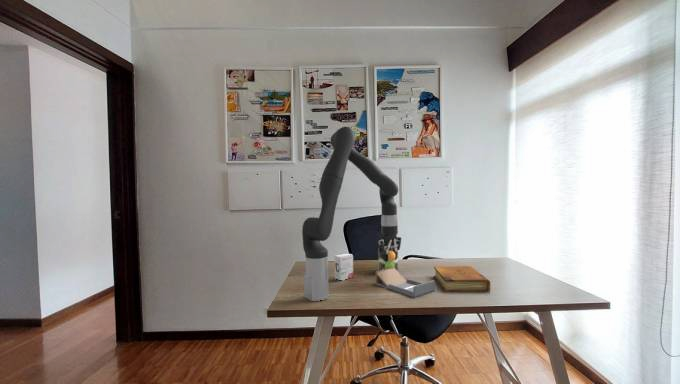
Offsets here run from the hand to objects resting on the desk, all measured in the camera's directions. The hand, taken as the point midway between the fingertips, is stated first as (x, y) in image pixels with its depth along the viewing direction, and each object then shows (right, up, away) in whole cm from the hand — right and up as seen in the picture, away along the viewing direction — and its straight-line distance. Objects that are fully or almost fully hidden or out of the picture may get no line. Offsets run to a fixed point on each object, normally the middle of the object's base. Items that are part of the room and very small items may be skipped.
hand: (390, 260), depth 154 cm
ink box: (-21, -11, +9) cm, 26 cm away
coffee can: (+2, -10, +19) cm, 22 cm away
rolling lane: (+5, -11, -6) cm, 14 cm away
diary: (+32, -11, -2) cm, 34 cm away
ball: (0, +2, 0) cm, 2 cm away
